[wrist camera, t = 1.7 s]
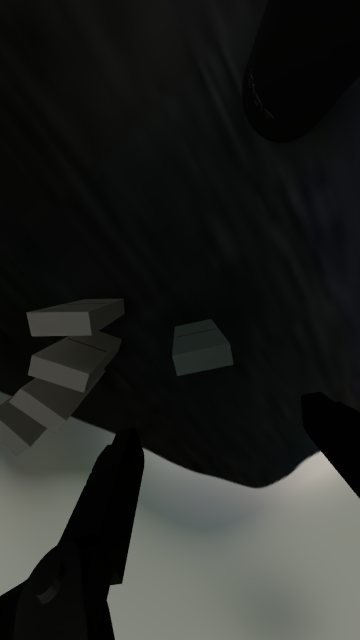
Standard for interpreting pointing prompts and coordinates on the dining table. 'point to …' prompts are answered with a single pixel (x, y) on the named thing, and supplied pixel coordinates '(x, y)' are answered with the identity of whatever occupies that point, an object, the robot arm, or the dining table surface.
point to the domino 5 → (200, 348)
